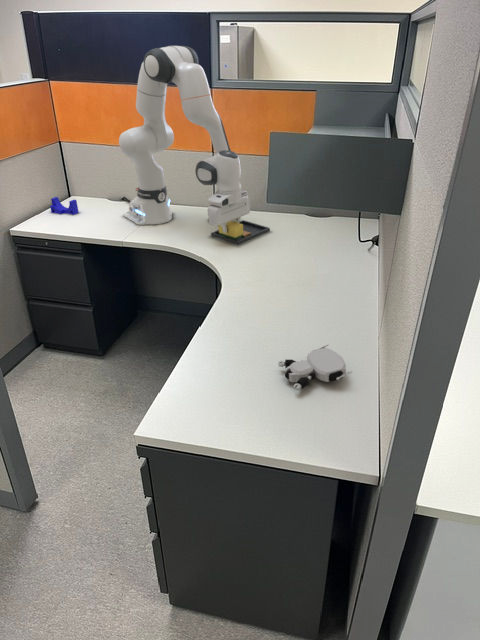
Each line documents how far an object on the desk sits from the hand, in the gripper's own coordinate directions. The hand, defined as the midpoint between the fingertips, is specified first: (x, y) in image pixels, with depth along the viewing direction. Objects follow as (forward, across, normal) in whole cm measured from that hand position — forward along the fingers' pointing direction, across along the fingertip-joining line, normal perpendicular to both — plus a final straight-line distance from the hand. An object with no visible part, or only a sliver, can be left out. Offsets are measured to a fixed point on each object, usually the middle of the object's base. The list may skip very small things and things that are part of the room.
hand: (230, 230), depth 197 cm
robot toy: (+5, +52, +76) cm, 92 cm away
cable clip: (+3, +25, -80) cm, 84 cm away
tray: (+4, -6, 0) cm, 7 cm away
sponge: (+2, 0, 0) cm, 2 cm away
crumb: (+3, -6, +2) cm, 7 cm away
